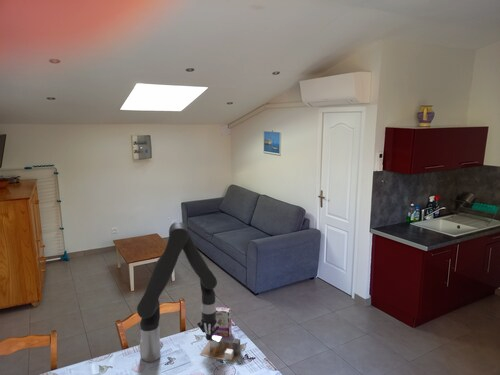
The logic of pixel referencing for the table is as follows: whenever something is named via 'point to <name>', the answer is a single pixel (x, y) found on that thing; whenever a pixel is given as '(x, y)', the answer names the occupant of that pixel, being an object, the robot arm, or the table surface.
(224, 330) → the candy bar box
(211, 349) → the cube with orange peg
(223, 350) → the tan rectangular open box
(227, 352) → the matte white cube
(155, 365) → the table surface
